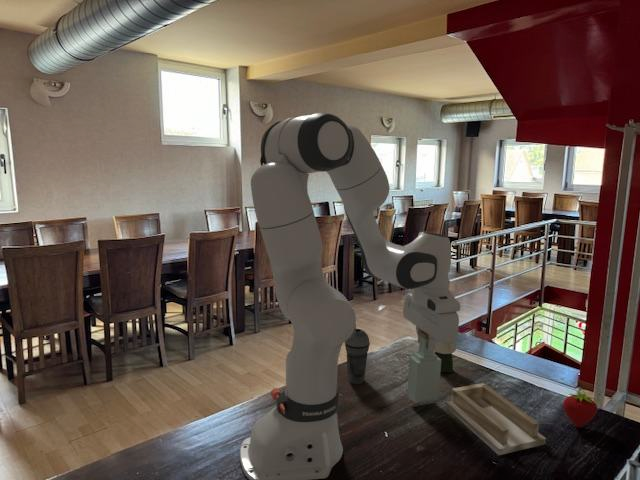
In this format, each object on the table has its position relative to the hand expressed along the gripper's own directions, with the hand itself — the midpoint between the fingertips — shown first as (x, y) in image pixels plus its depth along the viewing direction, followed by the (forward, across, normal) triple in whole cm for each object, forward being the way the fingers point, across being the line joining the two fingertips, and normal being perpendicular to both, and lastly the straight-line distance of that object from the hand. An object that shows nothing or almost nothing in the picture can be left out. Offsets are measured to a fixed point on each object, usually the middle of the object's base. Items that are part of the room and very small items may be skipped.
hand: (426, 346), depth 114 cm
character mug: (+16, -15, +16) cm, 28 cm away
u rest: (+16, +13, +12) cm, 24 cm away
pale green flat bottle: (+14, 0, 0) cm, 14 cm away
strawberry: (+16, +20, +31) cm, 41 cm away
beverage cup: (+16, -17, -12) cm, 26 cm away
